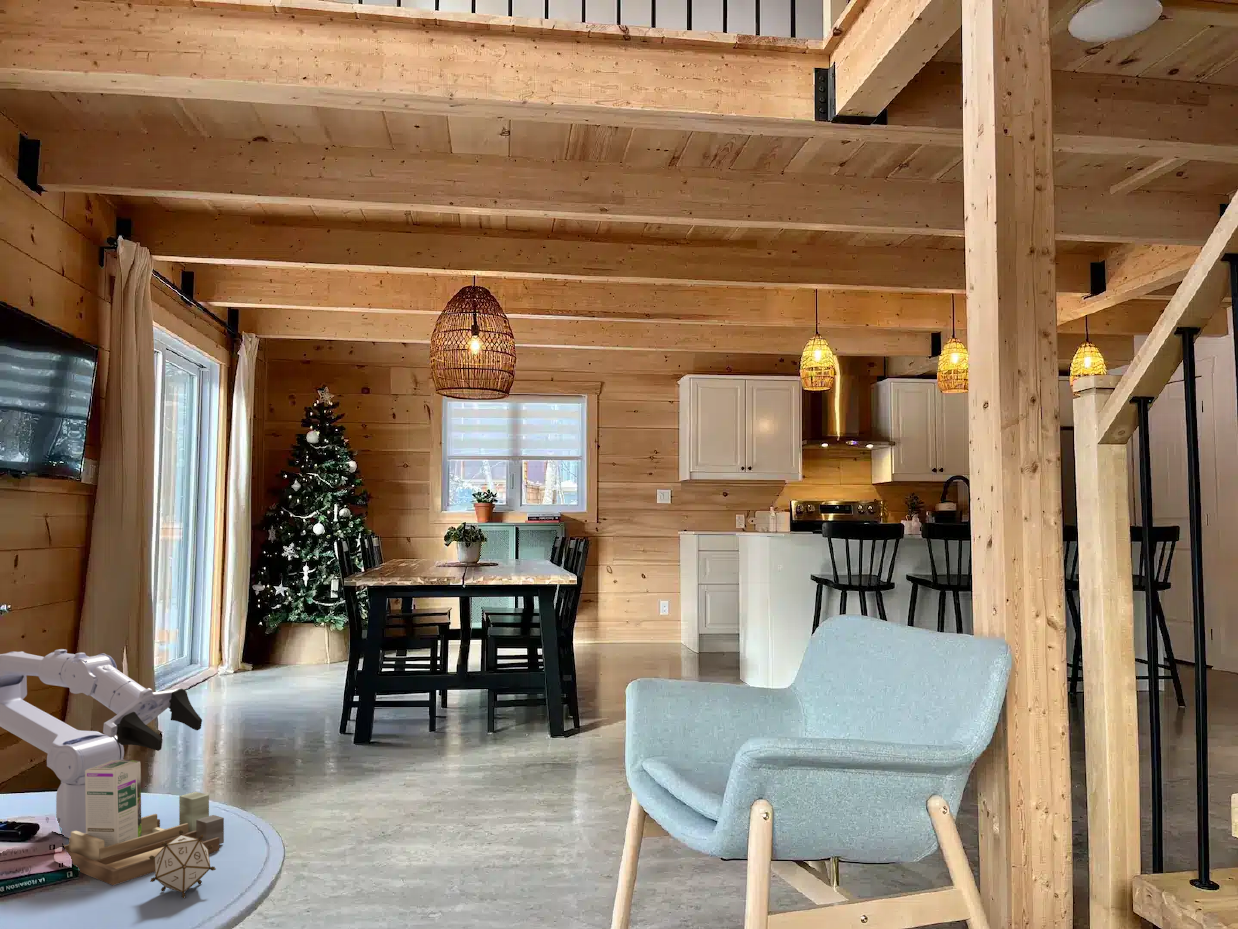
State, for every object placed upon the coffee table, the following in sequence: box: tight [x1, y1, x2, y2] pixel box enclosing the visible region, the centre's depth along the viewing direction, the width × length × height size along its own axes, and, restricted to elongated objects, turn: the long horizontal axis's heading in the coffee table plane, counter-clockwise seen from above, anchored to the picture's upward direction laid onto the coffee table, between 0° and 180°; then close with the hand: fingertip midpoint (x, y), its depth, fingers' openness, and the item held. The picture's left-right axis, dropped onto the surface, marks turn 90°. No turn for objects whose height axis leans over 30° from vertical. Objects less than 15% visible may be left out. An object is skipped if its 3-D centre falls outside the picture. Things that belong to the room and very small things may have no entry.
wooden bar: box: [107, 814, 225, 869], centre depth 149 cm, size 5×17×4 cm, turn 144°
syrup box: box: [85, 759, 142, 847], centre depth 151 cm, size 6×6×14 cm
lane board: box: [63, 818, 220, 886], centre depth 150 cm, size 18×17×2 cm
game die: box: [149, 829, 217, 899], centre depth 135 cm, size 9×8×10 cm
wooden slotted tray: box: [68, 791, 210, 861], centre depth 155 cm, size 10×20×6 cm, turn 145°
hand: (180, 734), depth 157 cm, fingers open, 7 cm apart
